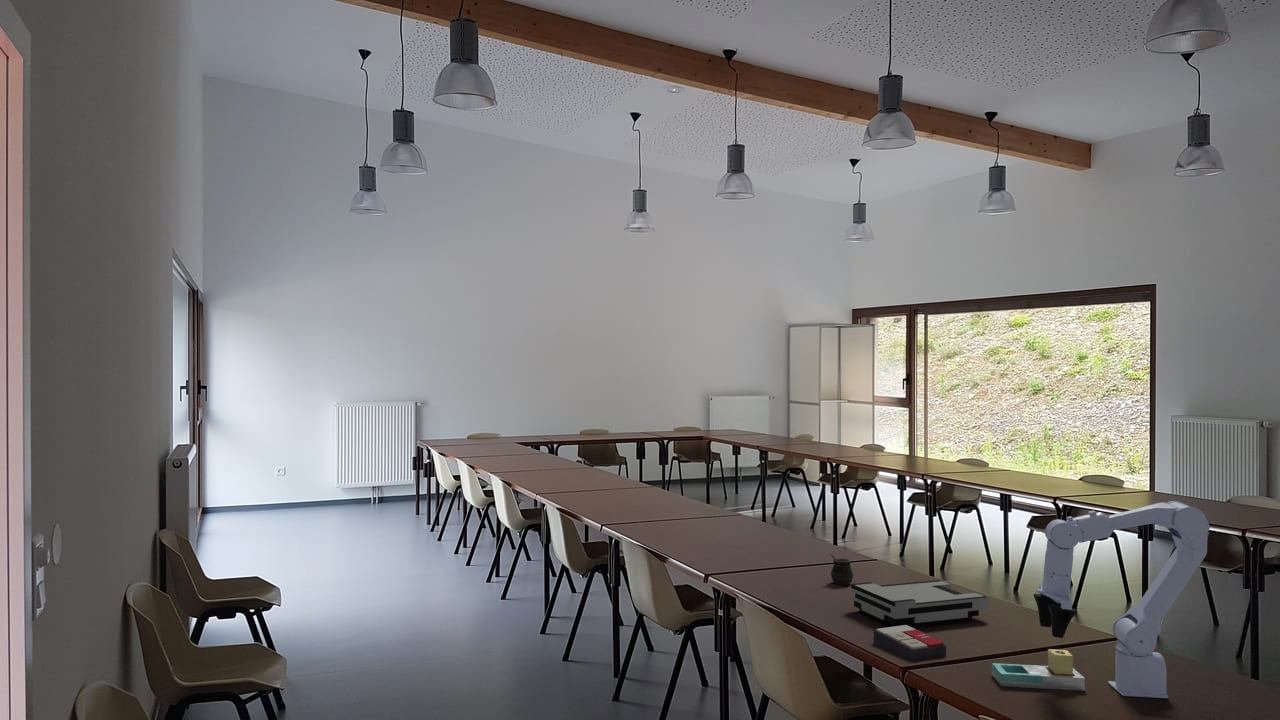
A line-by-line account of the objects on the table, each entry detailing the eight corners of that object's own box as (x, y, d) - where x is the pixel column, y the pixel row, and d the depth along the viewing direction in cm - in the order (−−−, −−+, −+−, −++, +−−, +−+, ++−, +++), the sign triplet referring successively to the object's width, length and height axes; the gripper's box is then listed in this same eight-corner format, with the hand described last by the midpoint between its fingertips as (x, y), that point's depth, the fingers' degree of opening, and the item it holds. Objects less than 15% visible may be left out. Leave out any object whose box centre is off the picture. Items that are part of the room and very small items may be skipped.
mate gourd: (855, 586, 277) (855, 556, 277) (832, 586, 277) (832, 556, 277) (850, 581, 284) (850, 551, 284) (828, 580, 285) (828, 551, 285)
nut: (1065, 676, 194) (1066, 649, 194) (1072, 682, 190) (1073, 655, 190) (1047, 675, 194) (1048, 649, 194) (1054, 681, 190) (1054, 654, 190)
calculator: (912, 647, 206) (873, 626, 220) (911, 664, 206) (872, 642, 220) (947, 642, 210) (906, 622, 224) (946, 659, 211) (906, 638, 224)
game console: (987, 621, 241) (988, 593, 241) (894, 632, 230) (895, 602, 230) (938, 602, 260) (938, 576, 260) (851, 611, 249) (851, 583, 249)
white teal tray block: (1072, 679, 195) (1072, 667, 195) (1084, 690, 188) (1084, 678, 188) (991, 675, 197) (992, 663, 197) (1001, 686, 190) (1001, 673, 190)
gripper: (1028, 563, 200) (1022, 619, 200) (1051, 578, 185) (1044, 639, 186) (1059, 566, 199) (1053, 623, 199) (1084, 582, 185) (1078, 644, 185)
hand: (1051, 631), depth 192 cm, fingers open, 7 cm apart
